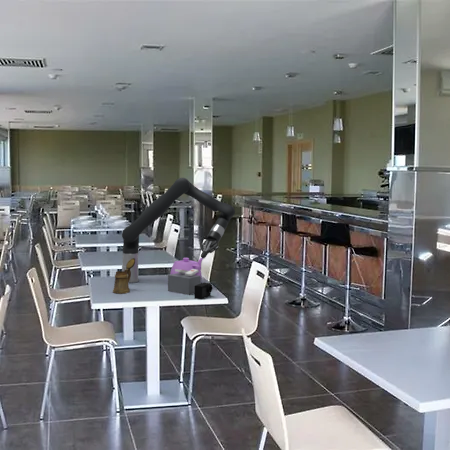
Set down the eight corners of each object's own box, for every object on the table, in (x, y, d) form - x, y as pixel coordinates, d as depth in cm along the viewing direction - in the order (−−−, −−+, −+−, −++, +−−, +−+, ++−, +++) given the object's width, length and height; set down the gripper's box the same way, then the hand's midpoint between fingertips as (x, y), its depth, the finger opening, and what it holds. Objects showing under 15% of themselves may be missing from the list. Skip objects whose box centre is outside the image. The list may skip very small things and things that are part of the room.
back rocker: (182, 273, 331) (183, 269, 331) (188, 274, 329) (188, 270, 329) (174, 272, 325) (175, 268, 326) (180, 273, 323) (180, 269, 323)
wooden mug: (139, 290, 324) (139, 258, 322) (119, 294, 314) (119, 261, 312) (129, 288, 330) (129, 256, 328) (109, 291, 320) (109, 259, 319)
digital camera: (203, 299, 306) (203, 286, 305) (194, 298, 308) (194, 285, 307) (212, 296, 315) (212, 283, 314) (203, 294, 317) (203, 282, 316)
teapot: (188, 288, 334) (188, 261, 333) (165, 282, 350) (165, 257, 348) (217, 283, 350) (218, 258, 349) (194, 277, 365) (194, 254, 364)
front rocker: (193, 272, 327) (192, 268, 327) (198, 273, 325) (198, 269, 324) (185, 276, 322) (184, 272, 321) (190, 277, 320) (190, 273, 319)
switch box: (179, 288, 333) (179, 272, 332) (200, 291, 324) (200, 275, 323) (167, 291, 325) (168, 275, 324) (188, 294, 316) (189, 278, 315)
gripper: (203, 229, 340) (190, 252, 332) (222, 230, 333) (209, 254, 324) (209, 237, 345) (196, 260, 336) (227, 239, 338) (214, 262, 329)
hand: (202, 257), depth 330 cm, fingers closed
